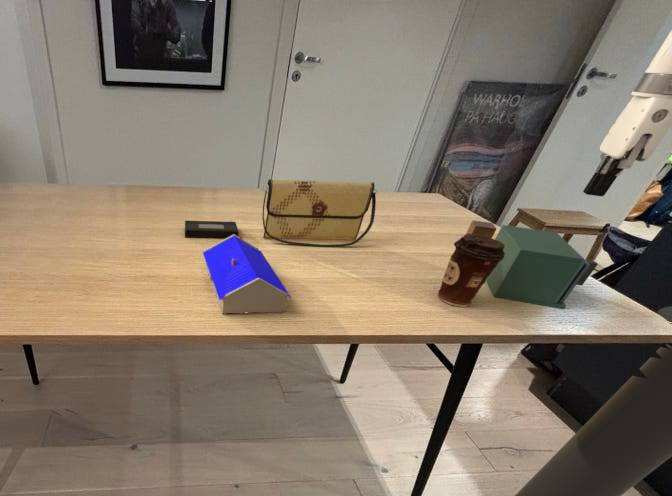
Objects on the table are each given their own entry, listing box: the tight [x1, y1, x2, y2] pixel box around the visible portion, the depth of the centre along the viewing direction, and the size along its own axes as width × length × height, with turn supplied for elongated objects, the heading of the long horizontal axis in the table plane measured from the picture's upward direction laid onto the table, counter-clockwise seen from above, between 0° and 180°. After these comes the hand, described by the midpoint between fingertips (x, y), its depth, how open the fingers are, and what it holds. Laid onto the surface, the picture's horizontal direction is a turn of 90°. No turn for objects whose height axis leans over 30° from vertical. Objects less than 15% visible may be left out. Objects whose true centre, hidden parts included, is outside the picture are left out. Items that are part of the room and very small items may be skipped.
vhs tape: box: [184, 220, 239, 239], centre depth 107 cm, size 8×14×2 cm, turn 91°
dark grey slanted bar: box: [559, 252, 599, 303], centre depth 80 cm, size 5×8×8 cm, turn 159°
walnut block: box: [465, 219, 497, 239], centre depth 108 cm, size 5×5×5 cm
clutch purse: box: [262, 178, 378, 248], centre depth 101 cm, size 30×7×15 cm, turn 91°
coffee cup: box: [437, 233, 505, 308], centre depth 78 cm, size 9×8×13 cm
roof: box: [202, 234, 291, 314], centre depth 81 cm, size 22×14×7 cm, turn 7°
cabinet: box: [485, 224, 585, 310], centre depth 85 cm, size 13×16×11 cm
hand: (592, 194), depth 81 cm, fingers closed
